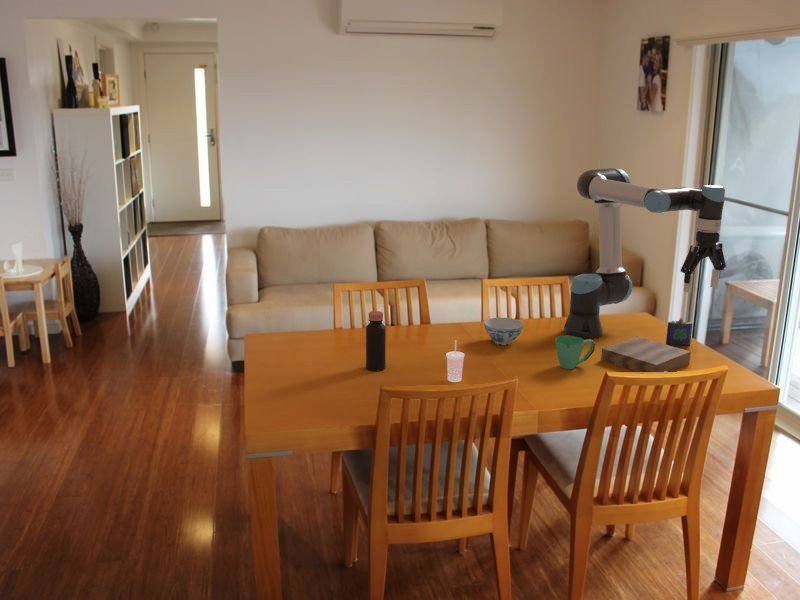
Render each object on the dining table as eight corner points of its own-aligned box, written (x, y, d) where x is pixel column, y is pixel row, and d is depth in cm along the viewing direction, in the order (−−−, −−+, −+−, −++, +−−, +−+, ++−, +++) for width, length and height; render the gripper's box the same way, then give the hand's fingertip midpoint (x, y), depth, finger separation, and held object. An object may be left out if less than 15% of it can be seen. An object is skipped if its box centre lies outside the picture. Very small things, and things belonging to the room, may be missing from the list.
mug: (561, 372, 263) (563, 345, 260) (548, 363, 272) (550, 336, 269) (599, 369, 267) (602, 342, 264) (586, 360, 276) (588, 333, 273)
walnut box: (600, 361, 276) (602, 348, 275) (635, 349, 290) (637, 336, 288) (654, 378, 260) (656, 364, 258) (689, 364, 273) (690, 351, 272)
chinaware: (530, 344, 293) (531, 324, 291) (501, 351, 284) (502, 331, 282) (504, 333, 305) (505, 315, 302) (475, 340, 296) (476, 321, 294)
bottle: (383, 364, 269) (384, 309, 264) (386, 371, 263) (387, 315, 258) (364, 365, 268) (364, 310, 263) (367, 372, 262) (367, 316, 257)
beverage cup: (462, 383, 252) (464, 343, 249) (444, 382, 253) (445, 342, 250) (464, 376, 258) (465, 337, 255) (446, 375, 259) (447, 336, 256)
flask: (689, 343, 295) (692, 317, 292) (691, 346, 292) (694, 319, 289) (664, 343, 295) (667, 316, 292) (667, 345, 292) (669, 319, 289)
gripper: (691, 235, 256) (684, 296, 261) (741, 229, 267) (733, 288, 273) (674, 231, 262) (667, 291, 268) (723, 226, 274) (716, 283, 279)
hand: (700, 289), depth 270 cm, fingers open, 13 cm apart
